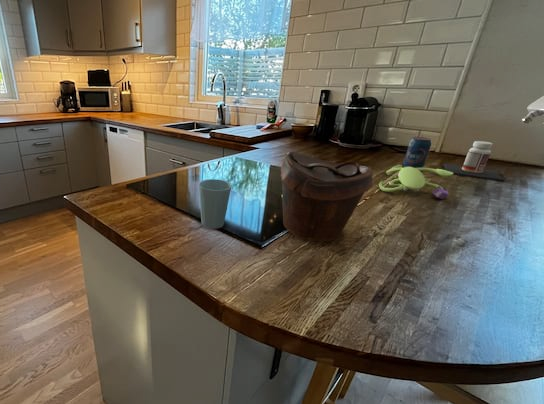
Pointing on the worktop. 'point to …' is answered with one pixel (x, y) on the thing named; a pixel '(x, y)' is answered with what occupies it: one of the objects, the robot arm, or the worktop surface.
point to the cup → (214, 202)
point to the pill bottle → (477, 157)
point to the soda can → (417, 152)
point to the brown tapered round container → (320, 195)
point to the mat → (485, 174)
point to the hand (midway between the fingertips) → (534, 123)
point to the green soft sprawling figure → (415, 180)
